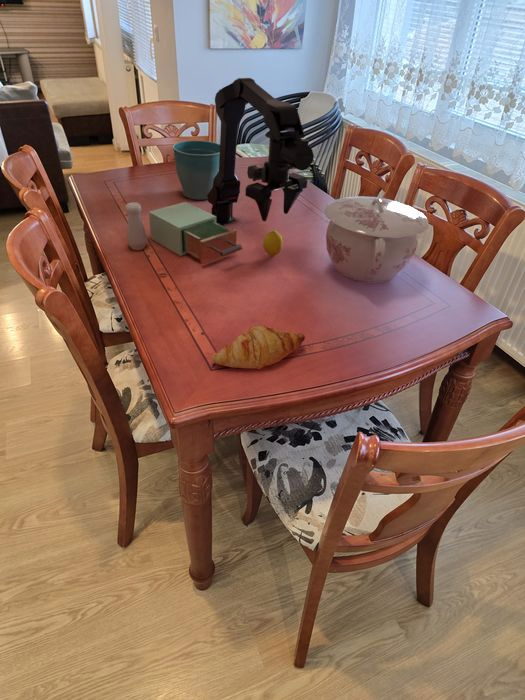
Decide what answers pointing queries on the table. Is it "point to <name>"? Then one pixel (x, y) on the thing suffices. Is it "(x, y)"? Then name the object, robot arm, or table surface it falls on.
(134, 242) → the salt shaker
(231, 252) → the drawer
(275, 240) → the lemon
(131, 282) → the table surface
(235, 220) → the robot arm
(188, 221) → the pale green box
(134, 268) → the table surface
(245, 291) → the table surface
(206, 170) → the flower pot
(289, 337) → the croissant
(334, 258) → the chamber pot
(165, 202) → the table surface
